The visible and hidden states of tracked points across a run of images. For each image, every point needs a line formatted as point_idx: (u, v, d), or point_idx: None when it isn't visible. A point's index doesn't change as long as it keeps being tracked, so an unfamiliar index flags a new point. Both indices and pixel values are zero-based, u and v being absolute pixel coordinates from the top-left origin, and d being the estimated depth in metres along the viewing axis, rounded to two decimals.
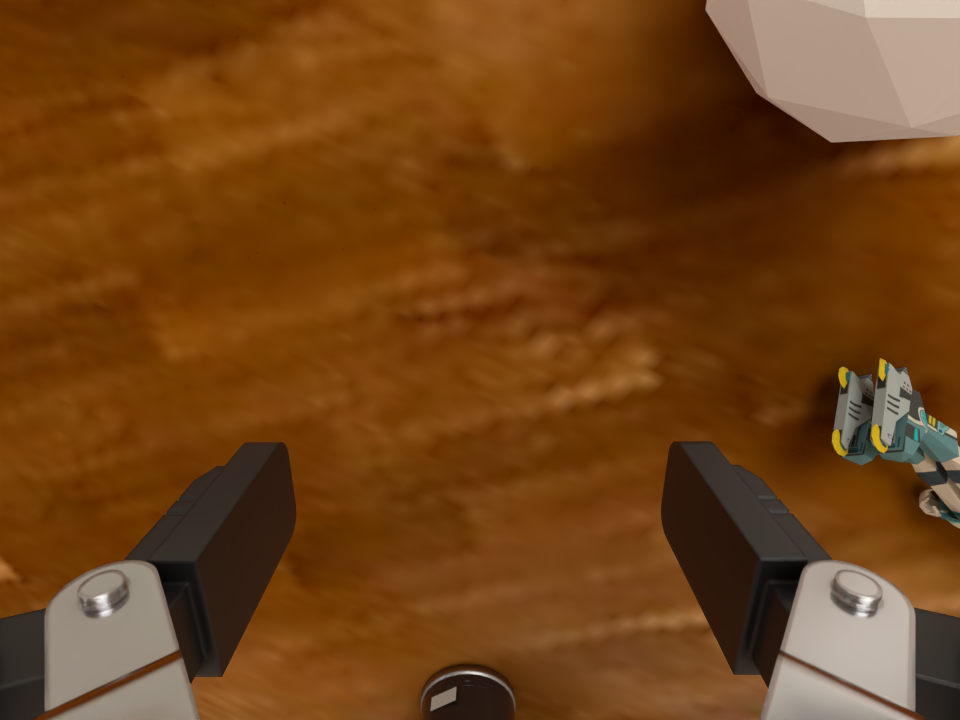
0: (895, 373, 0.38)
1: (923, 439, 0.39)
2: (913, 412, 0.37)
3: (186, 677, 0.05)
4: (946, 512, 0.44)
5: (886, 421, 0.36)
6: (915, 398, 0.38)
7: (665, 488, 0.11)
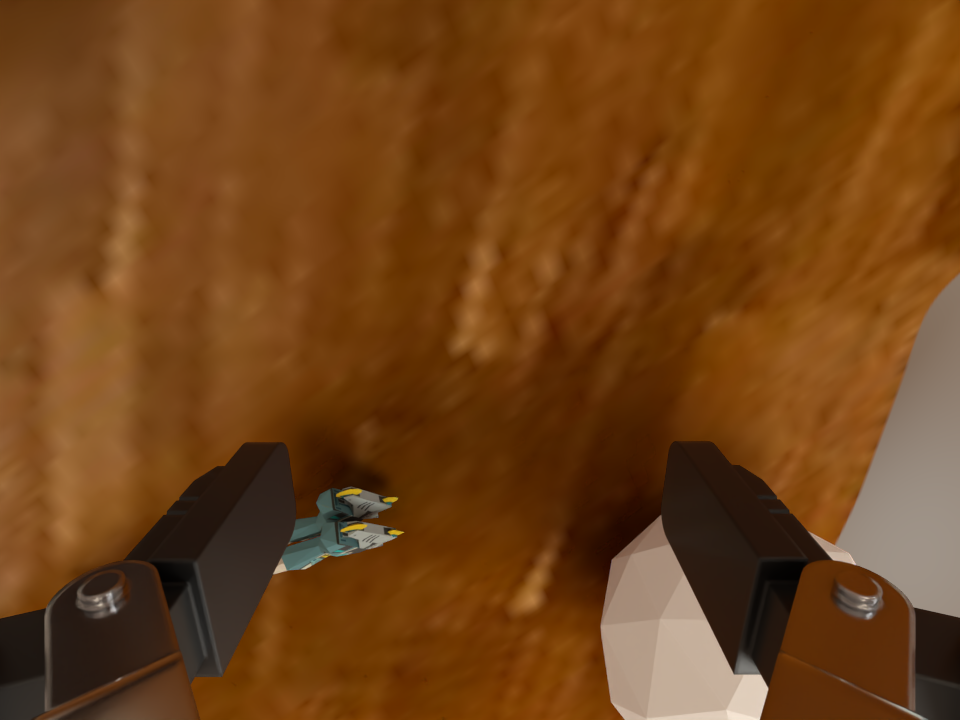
0: (387, 540, 0.43)
1: (313, 548, 0.42)
2: (355, 549, 0.41)
3: (186, 677, 0.05)
4: None
5: (364, 534, 0.39)
6: (360, 550, 0.42)
7: (665, 488, 0.11)
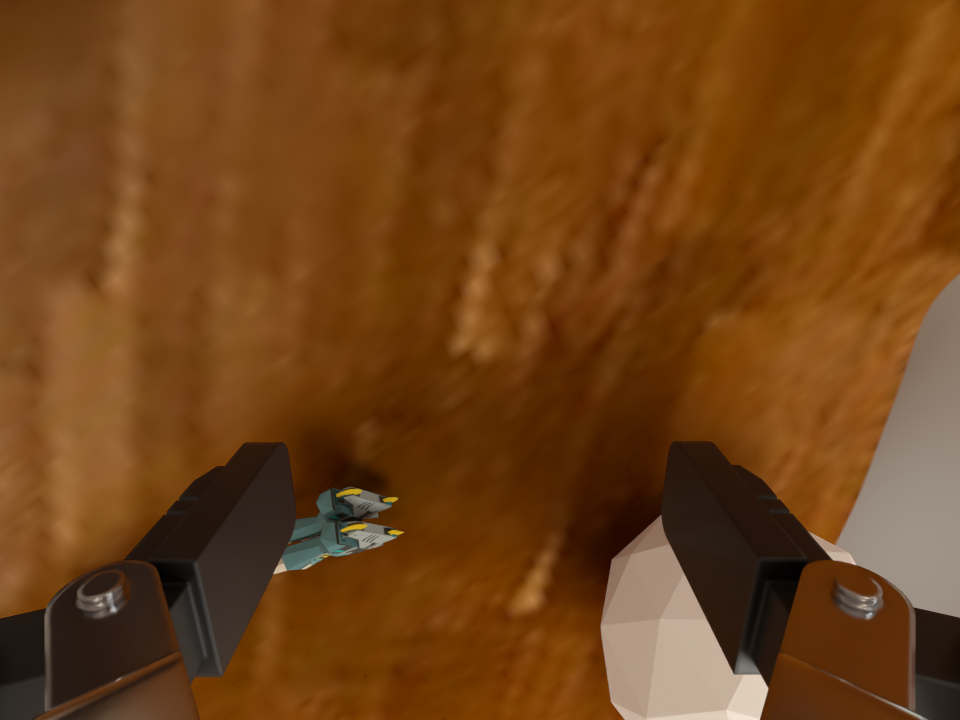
0: (387, 540, 0.43)
1: (313, 548, 0.42)
2: (355, 549, 0.41)
3: (186, 677, 0.05)
4: None
5: (364, 534, 0.39)
6: (360, 550, 0.42)
7: (665, 488, 0.11)
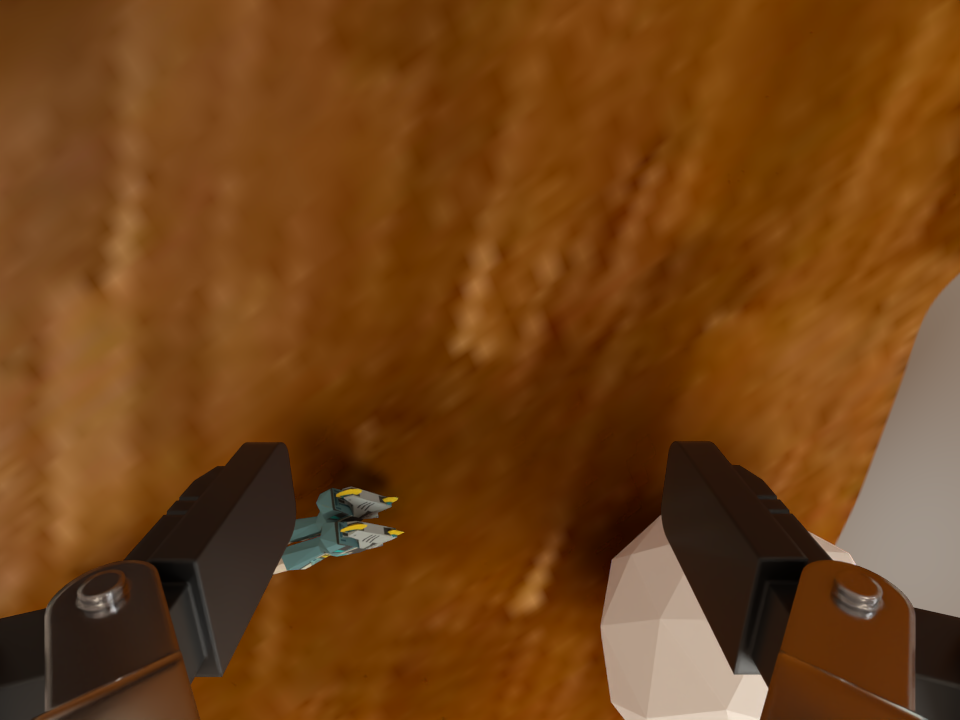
0: (387, 540, 0.43)
1: (313, 548, 0.42)
2: (355, 549, 0.41)
3: (186, 677, 0.05)
4: None
5: (364, 534, 0.39)
6: (360, 550, 0.42)
7: (665, 488, 0.11)
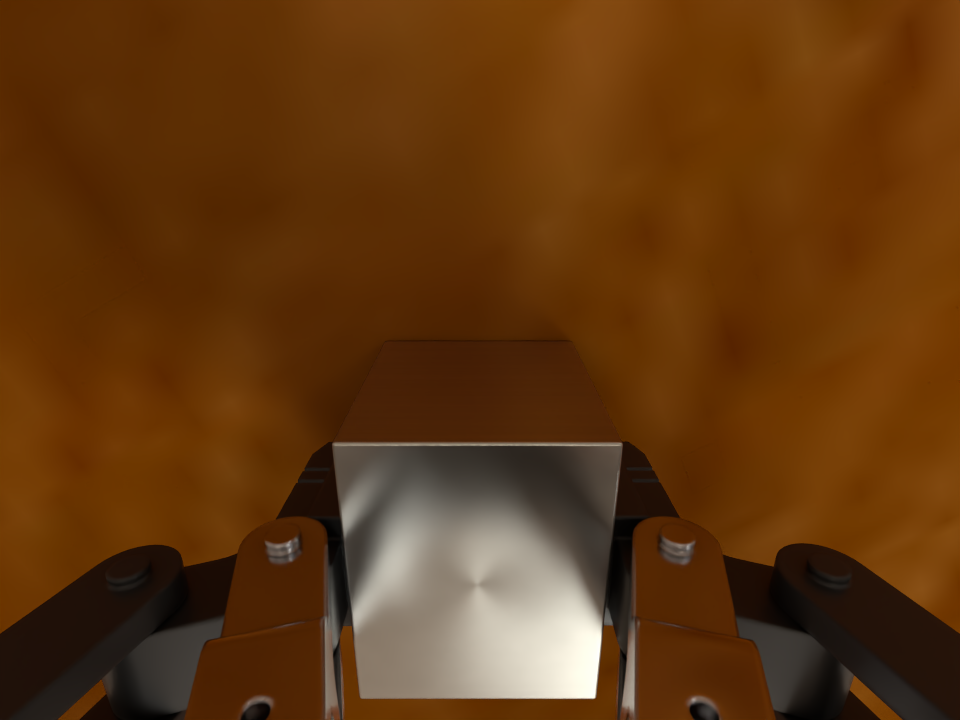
0: None
1: None
2: None
3: (323, 646, 0.05)
4: None
5: None
6: None
7: None
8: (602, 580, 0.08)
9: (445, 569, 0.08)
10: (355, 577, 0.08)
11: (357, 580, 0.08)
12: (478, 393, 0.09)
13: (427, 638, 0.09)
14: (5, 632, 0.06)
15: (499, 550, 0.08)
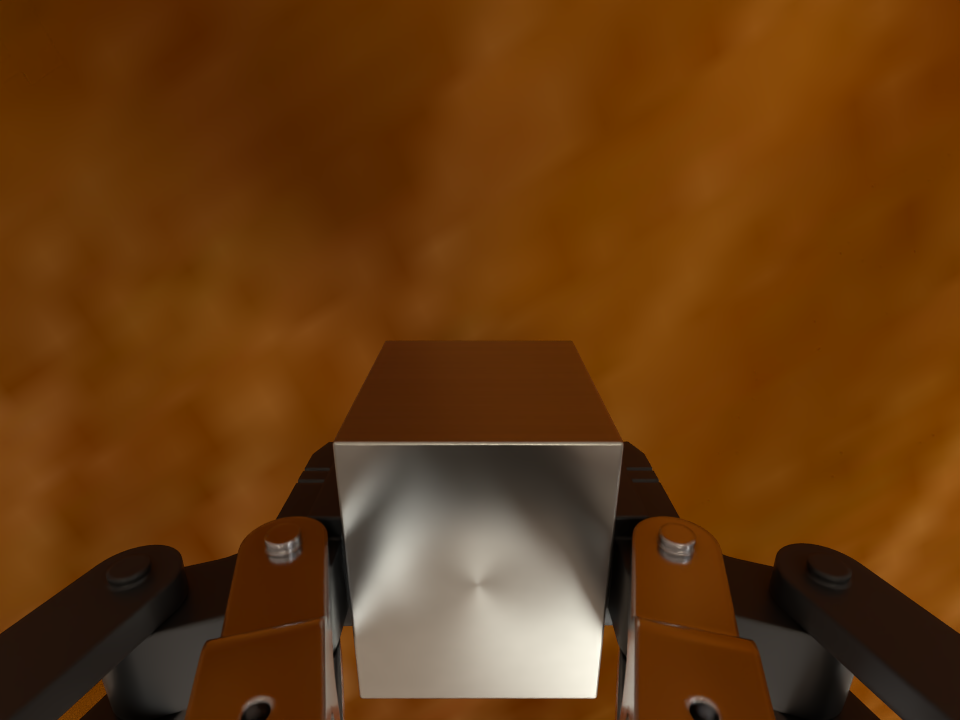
0: None
1: None
2: None
3: (323, 646, 0.05)
4: None
5: None
6: None
7: None
8: (603, 580, 0.08)
9: (445, 569, 0.08)
10: (356, 576, 0.08)
11: (358, 579, 0.08)
12: (479, 392, 0.09)
13: (428, 637, 0.09)
14: (6, 632, 0.06)
15: (499, 549, 0.08)
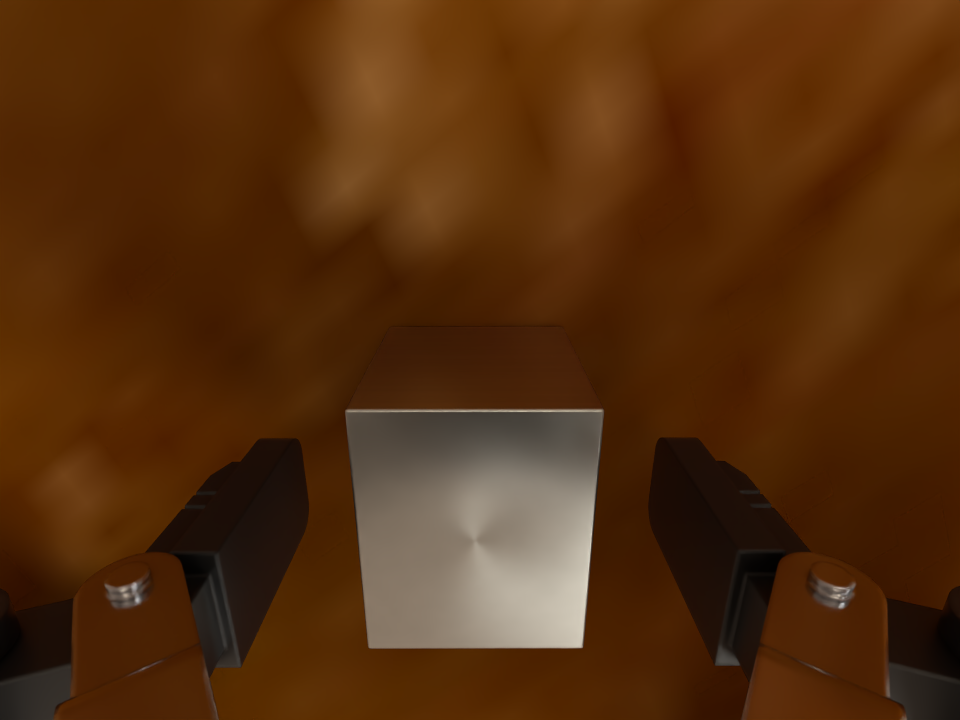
0: None
1: None
2: None
3: (205, 670, 0.05)
4: None
5: None
6: None
7: (652, 484, 0.11)
8: (587, 537, 0.09)
9: (446, 526, 0.09)
10: (365, 533, 0.09)
11: (366, 536, 0.09)
12: (476, 370, 0.10)
13: (429, 591, 0.10)
14: None
15: (494, 508, 0.09)
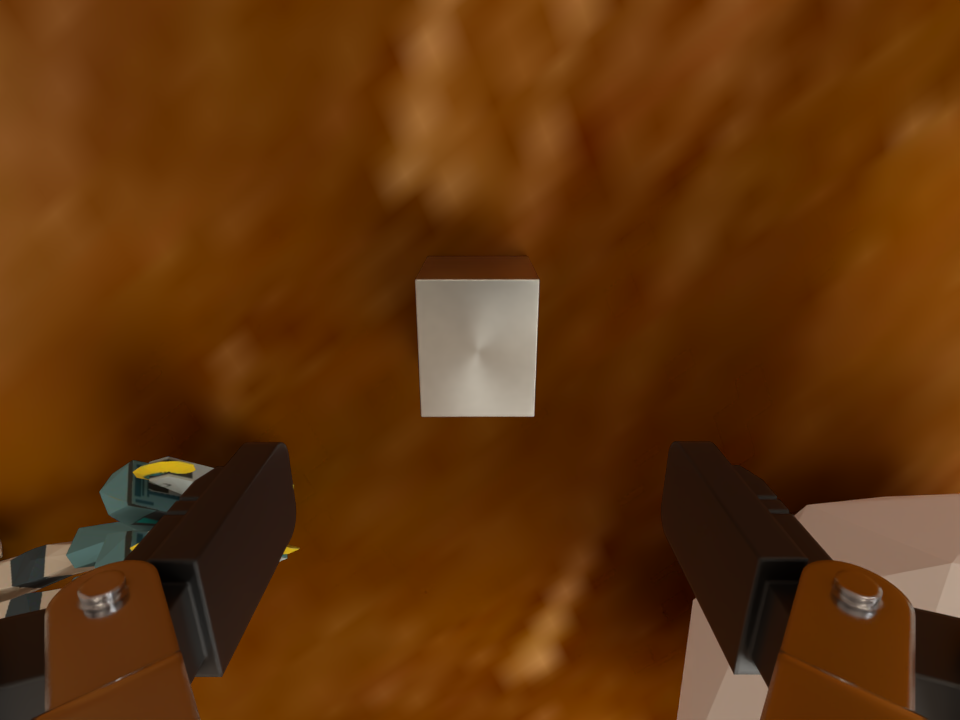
0: None
1: None
2: None
3: (186, 677, 0.05)
4: None
5: None
6: None
7: (665, 488, 0.11)
8: (534, 349, 0.18)
9: (463, 343, 0.18)
10: (422, 347, 0.18)
11: (423, 348, 0.18)
12: (478, 269, 0.19)
13: (454, 381, 0.19)
14: None
15: (487, 332, 0.18)
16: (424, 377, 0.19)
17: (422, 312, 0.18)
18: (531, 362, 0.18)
